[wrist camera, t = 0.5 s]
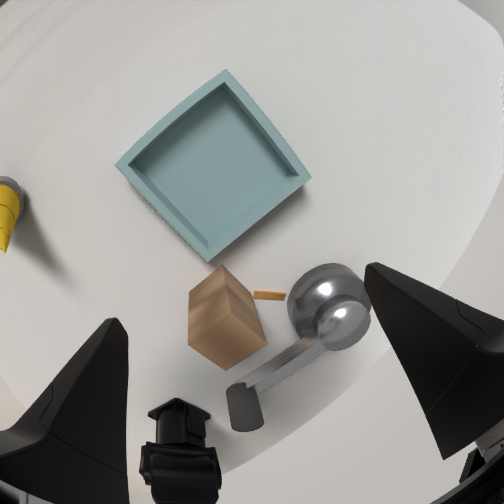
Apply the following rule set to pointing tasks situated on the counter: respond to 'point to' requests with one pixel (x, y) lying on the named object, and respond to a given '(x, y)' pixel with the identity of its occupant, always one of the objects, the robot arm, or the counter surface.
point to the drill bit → (9, 209)
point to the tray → (213, 165)
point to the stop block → (223, 320)
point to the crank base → (318, 293)
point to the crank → (298, 357)
